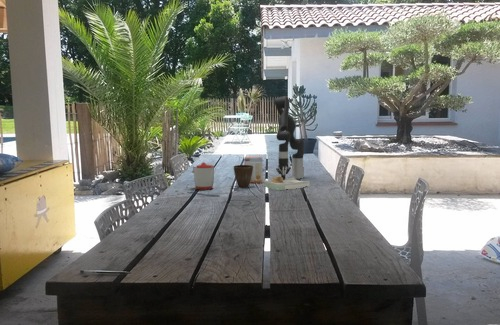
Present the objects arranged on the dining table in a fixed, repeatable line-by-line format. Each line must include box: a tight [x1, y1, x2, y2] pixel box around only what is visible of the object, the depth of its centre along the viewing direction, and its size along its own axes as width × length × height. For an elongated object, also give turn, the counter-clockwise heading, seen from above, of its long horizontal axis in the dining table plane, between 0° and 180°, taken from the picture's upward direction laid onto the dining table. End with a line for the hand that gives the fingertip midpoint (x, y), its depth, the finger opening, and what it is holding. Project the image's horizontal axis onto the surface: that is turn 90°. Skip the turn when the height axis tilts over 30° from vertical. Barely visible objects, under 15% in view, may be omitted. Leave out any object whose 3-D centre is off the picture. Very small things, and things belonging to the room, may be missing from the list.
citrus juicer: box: [191, 161, 215, 191], centre depth 361 cm, size 16×17×20 cm
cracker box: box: [243, 156, 263, 184], centre depth 387 cm, size 14×6×21 cm, turn 84°
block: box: [272, 176, 283, 183], centre depth 369 cm, size 6×5×4 cm
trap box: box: [263, 177, 311, 191], centre depth 368 cm, size 28×20×4 cm
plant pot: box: [233, 164, 253, 189], centre depth 366 cm, size 15×15×16 cm
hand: (283, 179), depth 371 cm, fingers closed
